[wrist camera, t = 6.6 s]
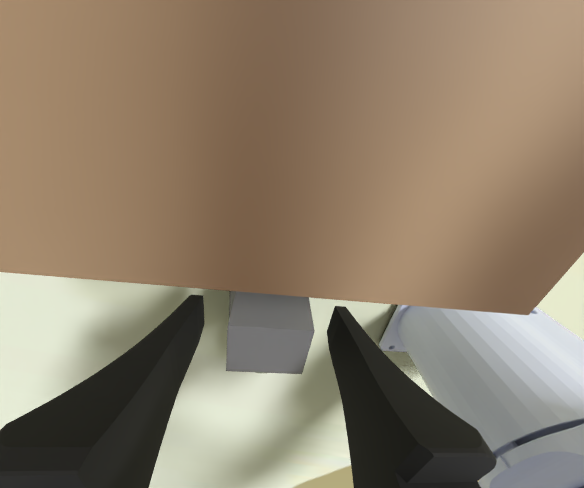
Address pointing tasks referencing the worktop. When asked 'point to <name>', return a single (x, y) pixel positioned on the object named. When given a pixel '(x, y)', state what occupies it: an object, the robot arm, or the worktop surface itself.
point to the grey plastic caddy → (268, 333)
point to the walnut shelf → (296, 146)
